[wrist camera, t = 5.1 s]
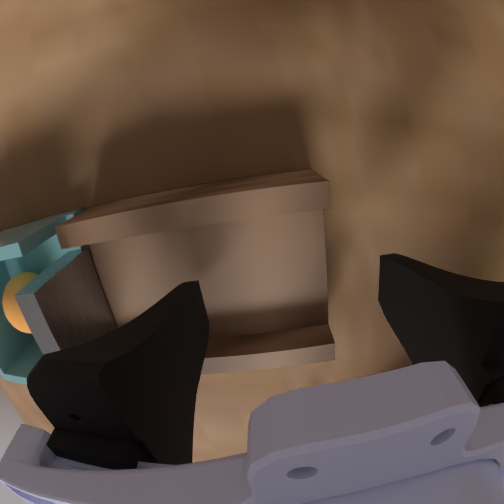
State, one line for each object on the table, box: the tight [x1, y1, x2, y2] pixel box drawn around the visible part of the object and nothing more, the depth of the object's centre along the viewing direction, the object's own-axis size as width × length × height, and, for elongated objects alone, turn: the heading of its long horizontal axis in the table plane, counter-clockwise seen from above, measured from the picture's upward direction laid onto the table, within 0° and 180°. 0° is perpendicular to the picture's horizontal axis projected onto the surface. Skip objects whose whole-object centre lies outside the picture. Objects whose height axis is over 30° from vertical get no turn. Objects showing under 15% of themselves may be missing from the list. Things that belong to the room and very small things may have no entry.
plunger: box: [14, 248, 117, 355], centre depth 11 cm, size 1×5×4 cm, turn 8°
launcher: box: [55, 169, 335, 374], centre depth 14 cm, size 11×8×4 cm
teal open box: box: [0, 207, 85, 385], centre depth 13 cm, size 8×8×5 cm
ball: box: [2, 272, 39, 334], centre depth 14 cm, size 4×4×4 cm
